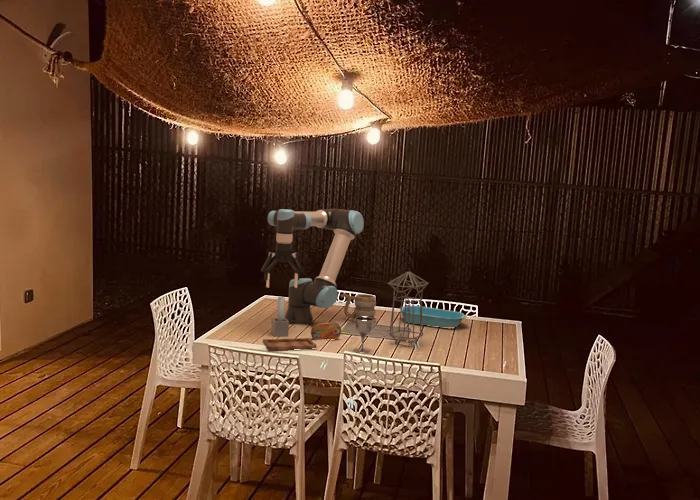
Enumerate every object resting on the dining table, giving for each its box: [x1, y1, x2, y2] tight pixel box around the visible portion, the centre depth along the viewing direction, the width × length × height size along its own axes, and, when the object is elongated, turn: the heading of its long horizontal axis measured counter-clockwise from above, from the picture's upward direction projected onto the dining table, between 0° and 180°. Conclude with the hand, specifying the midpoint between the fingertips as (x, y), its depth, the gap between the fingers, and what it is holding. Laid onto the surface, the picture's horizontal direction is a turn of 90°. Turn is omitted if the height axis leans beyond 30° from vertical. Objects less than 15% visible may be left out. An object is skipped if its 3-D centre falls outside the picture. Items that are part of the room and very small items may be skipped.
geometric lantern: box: [387, 271, 430, 348], centre depth 314 cm, size 16×16×35 cm
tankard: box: [340, 292, 377, 325], centre depth 356 cm, size 20×13×15 cm, turn 88°
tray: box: [262, 337, 318, 352], centre depth 298 cm, size 22×13×2 cm, turn 110°
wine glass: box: [354, 316, 374, 354], centre depth 298 cm, size 8×8×15 cm
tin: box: [310, 322, 342, 341], centre depth 313 cm, size 15×3×8 cm, turn 117°
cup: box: [270, 317, 290, 338], centre depth 314 cm, size 7×7×8 cm
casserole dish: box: [399, 305, 467, 328], centre depth 362 cm, size 37×22×7 cm, turn 70°
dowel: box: [276, 296, 286, 321], centre depth 314 cm, size 3×3×18 cm
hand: (281, 287), depth 312 cm, fingers open, 13 cm apart
